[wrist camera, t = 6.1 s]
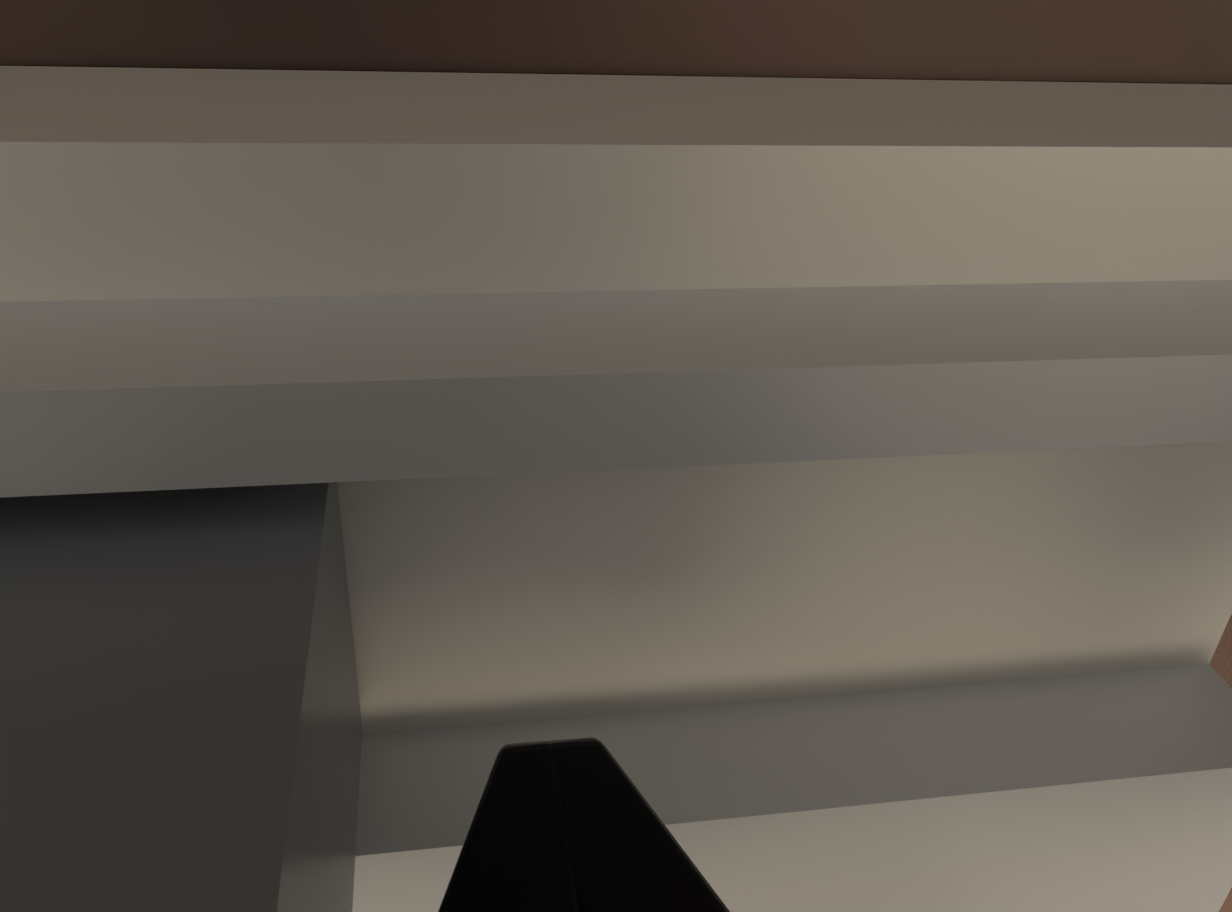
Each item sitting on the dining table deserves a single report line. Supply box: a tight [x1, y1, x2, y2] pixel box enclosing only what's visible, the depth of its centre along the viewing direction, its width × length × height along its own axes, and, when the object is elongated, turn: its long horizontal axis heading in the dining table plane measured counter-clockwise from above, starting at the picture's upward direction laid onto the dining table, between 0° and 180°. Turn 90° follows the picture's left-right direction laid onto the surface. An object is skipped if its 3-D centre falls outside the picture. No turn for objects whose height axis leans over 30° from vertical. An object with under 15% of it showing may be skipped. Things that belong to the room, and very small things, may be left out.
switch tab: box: [0, 482, 362, 912], centre depth 7 cm, size 4×3×5 cm
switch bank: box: [0, 66, 1232, 912], centre depth 12 cm, size 16×15×4 cm
